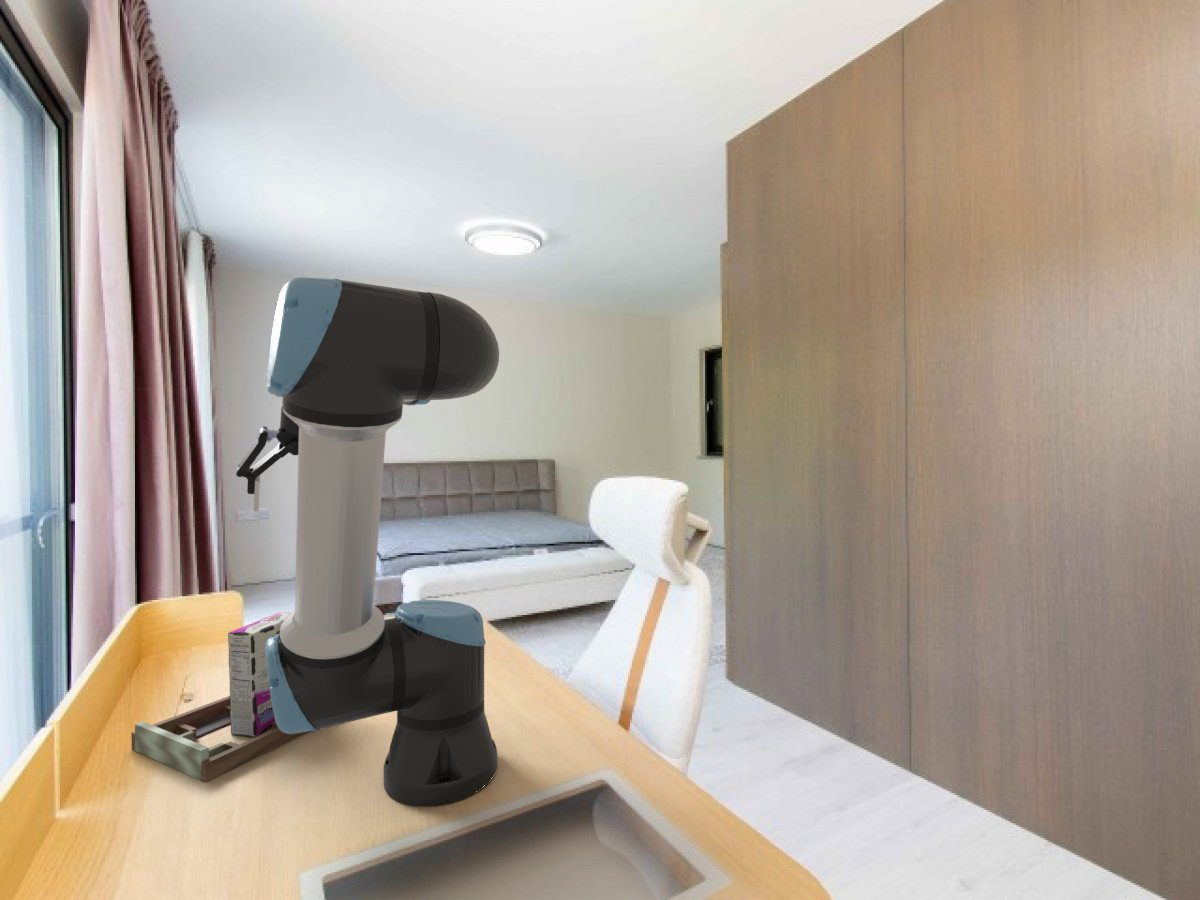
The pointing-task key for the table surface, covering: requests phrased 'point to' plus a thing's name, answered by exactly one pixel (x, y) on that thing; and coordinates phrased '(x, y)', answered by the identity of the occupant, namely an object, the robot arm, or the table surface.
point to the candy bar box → (251, 676)
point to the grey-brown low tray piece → (180, 751)
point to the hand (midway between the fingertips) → (296, 507)
